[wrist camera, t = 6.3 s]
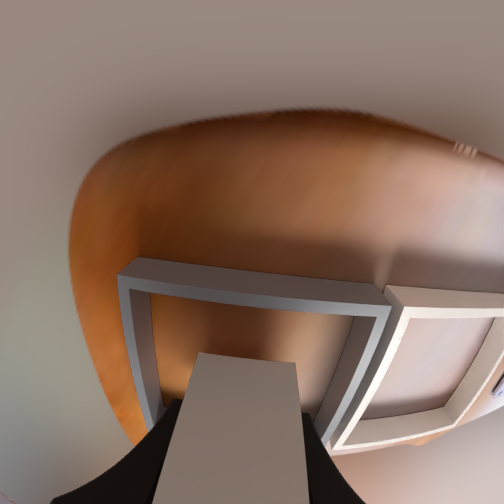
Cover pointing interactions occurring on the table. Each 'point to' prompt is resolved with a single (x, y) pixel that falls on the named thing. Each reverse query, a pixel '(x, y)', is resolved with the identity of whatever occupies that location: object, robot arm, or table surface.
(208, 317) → the table surface
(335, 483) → the robot arm
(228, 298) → the bin
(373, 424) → the bin
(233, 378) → the white rectangular block
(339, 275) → the table surface
